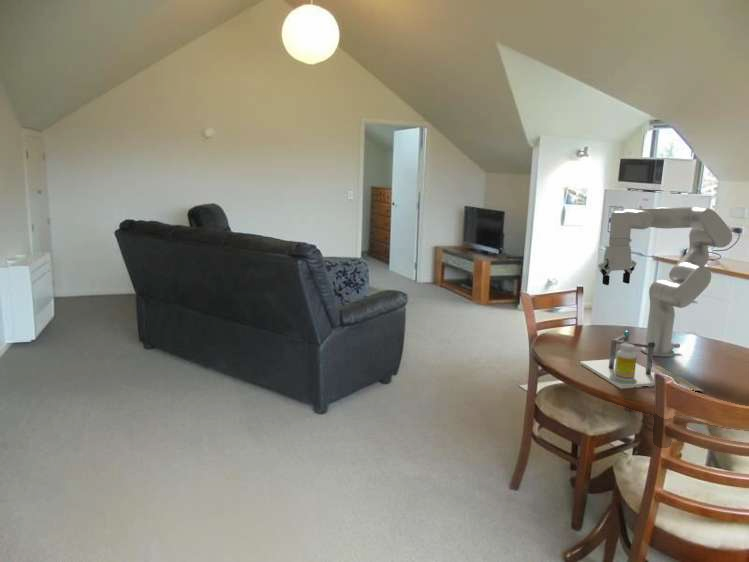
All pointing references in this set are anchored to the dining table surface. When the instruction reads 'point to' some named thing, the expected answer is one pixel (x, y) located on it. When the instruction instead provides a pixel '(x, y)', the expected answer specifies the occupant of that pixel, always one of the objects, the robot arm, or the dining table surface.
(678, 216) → the robot arm
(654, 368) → the newspaper
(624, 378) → the supplement bottle
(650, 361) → the bent wire
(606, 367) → the buzz board
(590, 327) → the dining table surface
